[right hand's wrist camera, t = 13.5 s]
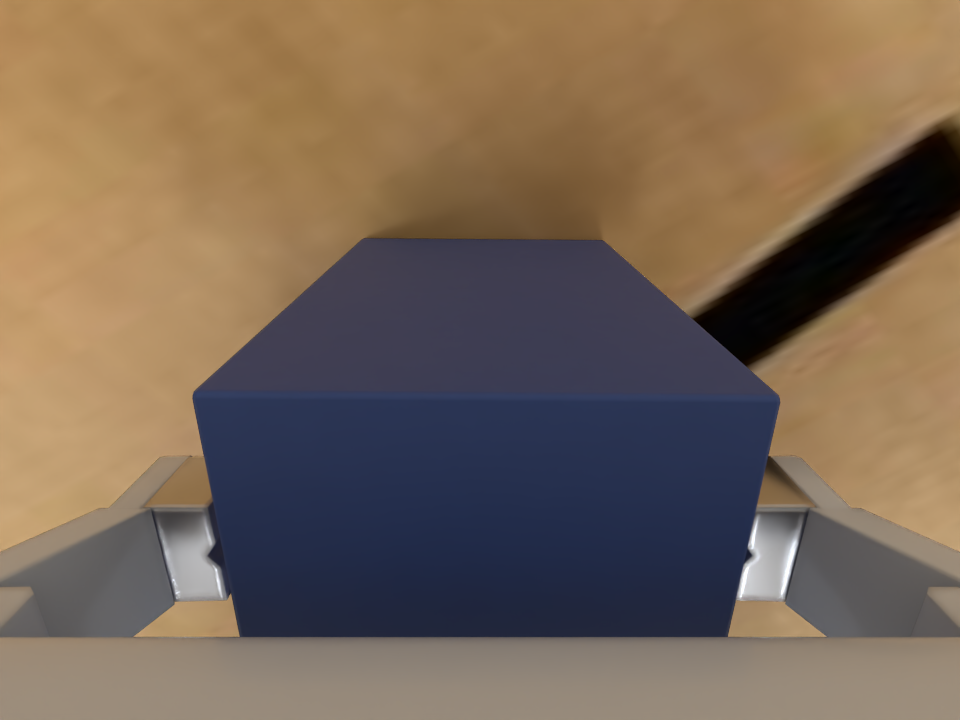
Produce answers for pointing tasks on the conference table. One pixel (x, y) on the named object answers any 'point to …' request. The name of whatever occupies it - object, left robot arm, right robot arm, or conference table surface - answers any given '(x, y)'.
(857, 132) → the conference table surface
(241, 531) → the box
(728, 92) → the conference table surface
